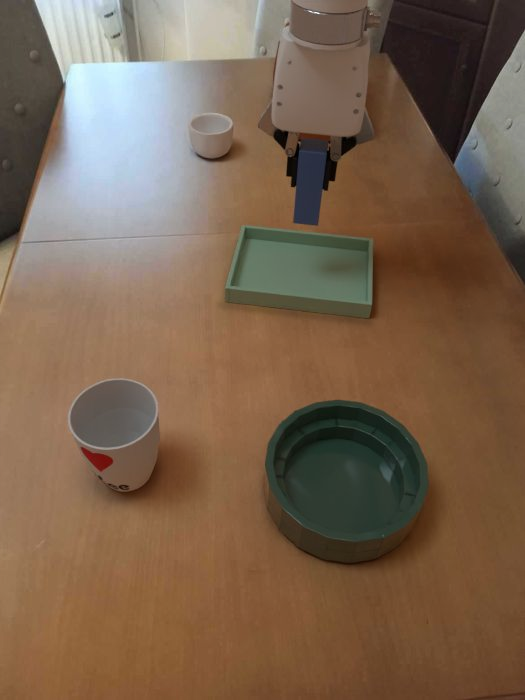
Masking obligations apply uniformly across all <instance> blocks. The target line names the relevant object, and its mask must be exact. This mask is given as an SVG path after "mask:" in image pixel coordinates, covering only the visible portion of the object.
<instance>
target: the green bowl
mask: <svg viewBox="0 0 525 700" xmlns="http://www.w3.org/2000/svg"><path fill="white" fill-rule="evenodd" d="M428 469H429V468H428V462H427V460H426V457H425V455H424V452H423V451H422V448H421V445H420V444H419V442H418V441H417V439H416V438H415V437H414V435H412V434H411V432H410V431H409V429H407V427H406V426H405V425H404V424H403V423H402V422H400V421H399V420H397V419H396V418H394V417H393V416H392V415H390V414H389V413H387V412H386V411H385V410H383V409H380V408H377V407H374V406H372V405H370V404H367V403H364V402H361V401H353V400H347V399H346V400H345V399H331V400H324V401H323V400H322V401H316V402H313V403H310V404H308V405H306V406H304V407H301V408H299V409H296V410H294V411H293V412H292V413H291V414H289V415H287V417H286V418H285V419H284V420H283V421H281V422H280V423H279V424H278V425H277V426H276V429H275V430H274V432H273V434H272V436H271V437H270V439H269V441H268V443H267V447H266V454H265V461H264V469H263V485H262V487H263V488H262V489H263V494H264V498H265V503H266V509H267V510H268V513H269V514H270V516H271V518H272V519H273V521H274V523H275V524H276V526H277V528H278V530H279V531H280V533H282V534H283V535H284V536H285V537H286V538H288V539H289V540H290V541H291V542H292V543H293V544H294V545H295V546H297V548H299V549H300V550H302V551H305V552H307V553H309V554H311V555H313V556H315V557H317V558H319V559H322V560H326V561H331V562H333V561H334V562H340V563H345V564H353V563H359V562H365V561H371V560H376V559H378V558H380V557H382V556H384V555H385V554H387V553H389V552H391V551H393V550H394V549H396V548H398V547H399V545H400V544H402V542H403V541H404V539H405V538H406V537H407V536H408V535H409V534H410V533H411V531H412V530H413V528H414V526H415V523H416V521H417V519H418V517H419V515H420V513H421V510H422V509H423V505H424V502H425V499H426V497H427V493H428V490H429V483H430V482H429V470H428Z"/></svg>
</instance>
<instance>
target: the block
mask: <svg viewBox="0 0 525 700" xmlns="http://www.w3.org/2000/svg"><path fill="white" fill-rule="evenodd" d="M299 145H300V149H299V158H298V170H297V182H296V186H295V195H294V205H293V206H294V207H293V217H292V218H293V219H292V223H293V224H295V225H296V224H297V225H307V226H315V227H319V223H320V221H319V220H320V213H321V207H322V206H321V205H322V197H323V196H322V195H323V190H324V189H323V181H324V173H325V165H326V157H327V150H329V141H328V140H318V139H308V138H302V139H301V140H300V143H299Z"/></svg>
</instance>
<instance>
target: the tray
mask: <svg viewBox="0 0 525 700" xmlns="http://www.w3.org/2000/svg"><path fill="white" fill-rule="evenodd" d="M240 227H241V228H240V231H239V234H238V237H237V238H238V239H237V243H236V244H235V245H236V246H235V248H234V249H235V250H234V252H233V258H232V261H231V264H230V268H229V272H228V276H227V279H226V283H225V287H224V301H225V303H231V304H239V305H240V304H241V305H248V306H257V307H266V308H274V309H284V310H292V311H301V312H309V313H319V314H326V315H335V316H344V317H352V318H362V319H370V316H371V311H372V308H373V307H372V306H373V280H374V277H373V276H374V274H373V273H374V238H371V237H370V238H369V237H361V236H351V235H343V234H333V233H323V232H316V231H315V232H314V231H306V230H305V231H304V230H297V229H296V230H295V229H286V228H278V227H268V226H260V225H259V226H257V225H250V224H242V225H241V226H240Z"/></svg>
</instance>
